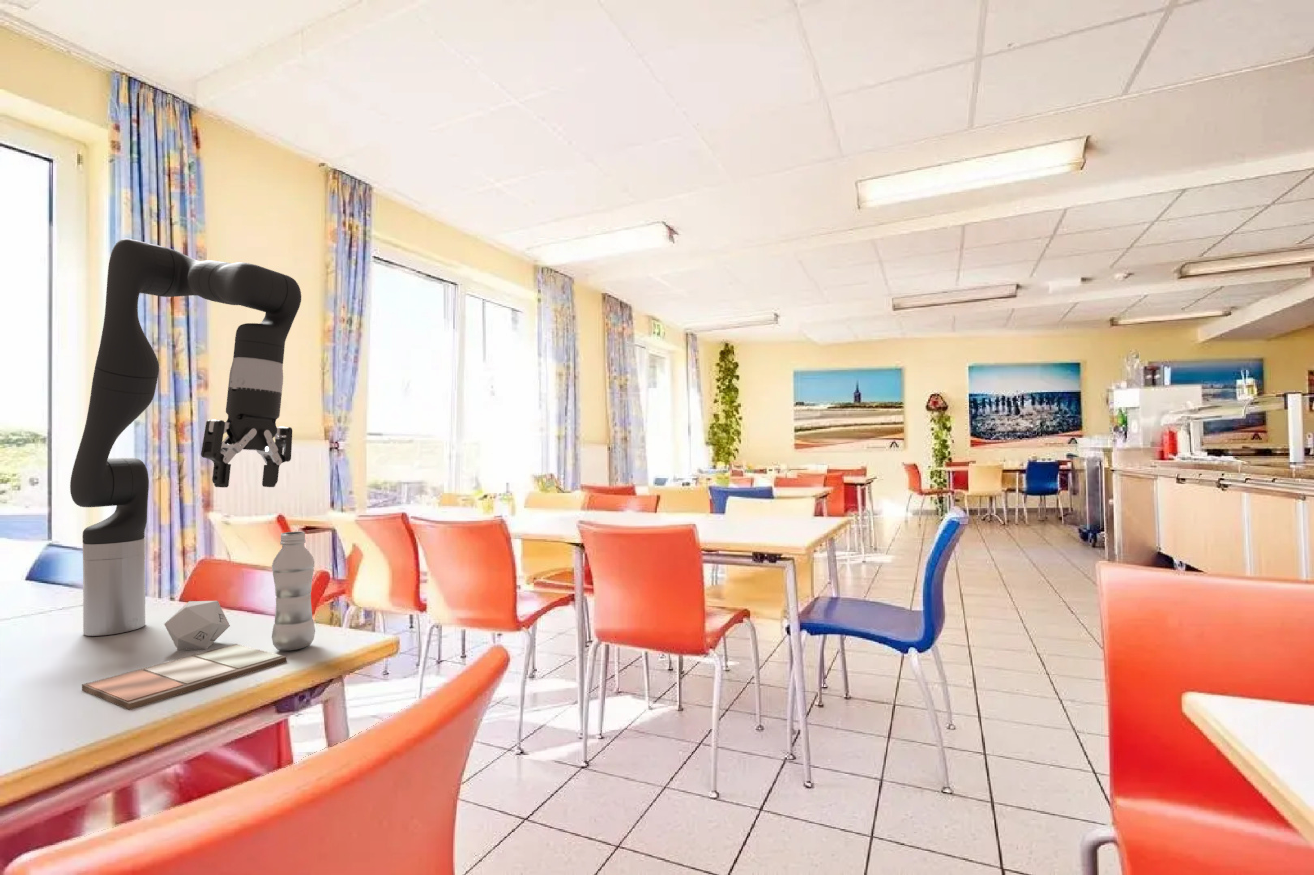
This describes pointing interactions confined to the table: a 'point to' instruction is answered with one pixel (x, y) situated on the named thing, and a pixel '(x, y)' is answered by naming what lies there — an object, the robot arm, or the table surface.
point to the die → (197, 625)
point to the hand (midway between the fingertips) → (245, 487)
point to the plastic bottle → (293, 594)
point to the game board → (181, 675)
